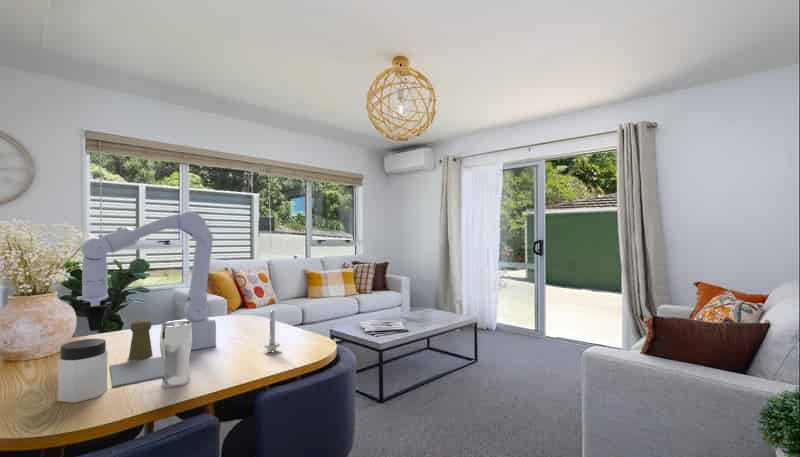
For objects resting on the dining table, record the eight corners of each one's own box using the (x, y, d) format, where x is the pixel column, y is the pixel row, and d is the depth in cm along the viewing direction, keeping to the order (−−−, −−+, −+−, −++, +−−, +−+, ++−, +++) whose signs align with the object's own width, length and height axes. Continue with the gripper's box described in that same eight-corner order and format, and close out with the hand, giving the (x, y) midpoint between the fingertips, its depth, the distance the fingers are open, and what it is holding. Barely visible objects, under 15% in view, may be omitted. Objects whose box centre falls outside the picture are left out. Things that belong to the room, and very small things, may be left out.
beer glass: (168, 391, 91) (169, 328, 92) (153, 384, 95) (154, 324, 95) (197, 381, 97) (197, 322, 97) (182, 375, 101) (182, 318, 101)
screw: (261, 353, 119) (267, 349, 124) (276, 354, 119) (282, 349, 124) (261, 311, 119) (267, 308, 124) (277, 312, 119) (282, 308, 124)
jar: (102, 384, 95) (102, 336, 95) (111, 393, 90) (112, 342, 90) (54, 396, 88) (54, 344, 88) (61, 407, 83) (61, 351, 83)
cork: (140, 360, 112) (140, 323, 112) (123, 359, 113) (123, 322, 113) (157, 354, 118) (157, 318, 118) (140, 352, 119) (141, 317, 119)
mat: (172, 356, 117) (172, 354, 117) (182, 373, 102) (182, 372, 102) (110, 366, 107) (110, 365, 107) (112, 387, 93) (112, 386, 93)
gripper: (77, 278, 114) (77, 324, 114) (76, 284, 102) (76, 335, 102) (107, 277, 118) (107, 321, 118) (109, 282, 107) (109, 331, 107)
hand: (94, 327), depth 111 cm, fingers open, 7 cm apart
